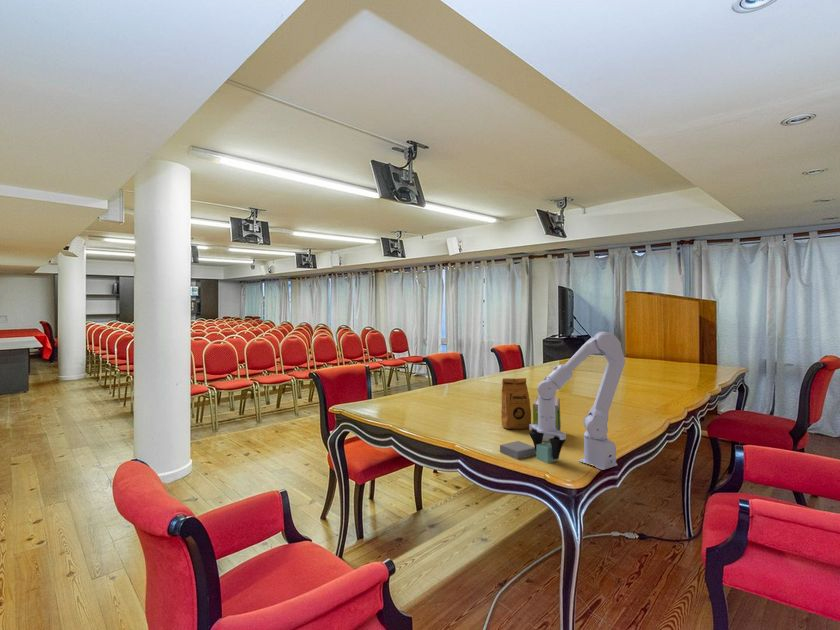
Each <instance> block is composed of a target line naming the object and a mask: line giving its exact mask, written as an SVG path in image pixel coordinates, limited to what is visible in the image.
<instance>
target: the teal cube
mask: <svg viewBox="0 0 840 630" xmlns="http://www.w3.org/2000/svg"><path fill="white" fill-rule="evenodd" d="M535 456H536V460H539V461H540V462H543V463H546V464H549V463H553V461H554V462H557V461H556V460H558V461H559V459H553V456H552V446H551V442H548V441H544V442H542V443H541V444H537V445H536V455H535Z"/></svg>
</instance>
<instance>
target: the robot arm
mask: <svg viewBox="0 0 840 630" xmlns="http://www.w3.org/2000/svg"><path fill="white" fill-rule="evenodd" d="M593 335H594V336H591V338H589V339H588V340H586V341H585V342H584V344H582V345H581V347H580V348H579V349H578V350H577V351H575V353H574V354H573V355H572V356H571V358H569V359H568V361H566V363H563V364H558V365H555V366H553V368H552V369H553V370H552V371H551V372H550V373H549V374H548V375H547V376H544V377H543V380H541V381H540V382H538V384H537V387H536V389H537V393H538V396H537V397H538V400H539V402H538V425H537V424H533V423H531V424H529V429H528V430H529V433H528V435H529V436H530V438H531V440H532V443H533V447H535V450H536V445H537V444H541V443H543V441H542V440H543V435H544V434H547V435H550V436H553V437H554V438H551V439H550V441H549V443H550V444H551V446H552V456H553V459H558V460H559V458H560V455H561V451H562V448H563V446H564V444H565V443H566V441H567V440H566V438H567V433H566V432H563V431H559V430H557V429H556V425H555V402H554V398H556V395H557V390H560V389H561V388H562V387H563V386H564V385H565V384H566V383H567V382H569V380H571V378H573V371H574V370H575V369H576V368H578V366H580V364H582V362H584V361H585V360H586V359H587V358H588V357H589V356H591V355H597V354H600V352H601V353H602V355H603V357H604V358H605V360H606V366H605V369H604V371H603V373H602V374H603V375H602V378H601V381H600V384H599V387H598V390H597V394H596V395H595V398H594V399H595V400H594V403H593V405H592V406H591V408H590V409H589V412H588V414H587V415H586V416H584V419H583V426H584V428H585V429H586V431H584V433H583V458H580V459H578V462H579V461H580V462H579V463H582V462H583V464H584V463H587V464H590V465H591V464H593V465H594V466H595V467H596V469H598V470H601V471H602V470H603V471H604V470H607V469H611V468H613V467H617V466H618V463H617V446H616V444H615V442H614V441H612V440H610V439H609V438H608V432H609V427H608V422H609V411H610V408H611V405H612V403H613V400H614V396H615V394H616V391H617V387H618V385H619V381H620V379H621V375H622V372H623V369H624V366H625V364H626V363H625V362H626V359H625V355H624V352H623V348H622V343H621V341H620V339H618V337H617V336H616V335H615V334H614V333H611V332H607V331H598V332H596V333H595V334H593ZM587 464H586V465H587ZM590 465H589V466H590ZM595 467H594V468H595Z"/></svg>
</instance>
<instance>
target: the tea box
mask: <svg viewBox="0 0 840 630" xmlns="http://www.w3.org/2000/svg"><path fill="white" fill-rule="evenodd" d="M538 397H539V396H536V397H535V399H534V401H533V403H532V424H537V425H538V402H539V400H538ZM554 402H555V425H556V429H557V430H559V431H561V430H562V429H561V425H562V424H561V422H562V421H561V399H560V397H554ZM561 432H562V431H561ZM551 438H554V437H553V436H550V435H547V434H544V435H543V440H542V442H550V439H551Z"/></svg>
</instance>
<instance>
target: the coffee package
mask: <svg viewBox="0 0 840 630" xmlns="http://www.w3.org/2000/svg"><path fill="white" fill-rule="evenodd" d="M501 385H502V387H501V397H500V398H501V399H500V400H501V419H500V420H501V426H502V427H503V428H505V429H509V430H510V429H512V430H529V424H532V409H531V401H530V400H531V399H530V395H529V391H528V385H527V377H520V378H514V377H513V378H505V377H504V378H502V381H501Z"/></svg>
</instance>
